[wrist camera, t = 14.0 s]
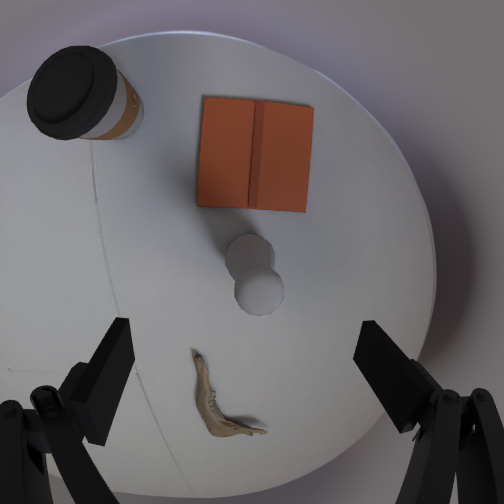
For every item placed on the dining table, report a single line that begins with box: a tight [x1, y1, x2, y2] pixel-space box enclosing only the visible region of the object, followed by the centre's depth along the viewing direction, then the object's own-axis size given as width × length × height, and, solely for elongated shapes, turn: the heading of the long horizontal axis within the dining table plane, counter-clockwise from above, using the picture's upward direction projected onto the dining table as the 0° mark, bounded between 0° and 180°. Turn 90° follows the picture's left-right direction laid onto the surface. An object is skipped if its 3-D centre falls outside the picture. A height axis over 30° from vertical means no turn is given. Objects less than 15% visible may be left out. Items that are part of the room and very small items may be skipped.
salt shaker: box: [225, 234, 284, 316], centre depth 30 cm, size 6×6×13 cm
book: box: [197, 97, 314, 213], centre depth 33 cm, size 13×13×1 cm
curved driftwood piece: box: [195, 355, 267, 437], centre depth 42 cm, size 9×20×2 cm, turn 30°
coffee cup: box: [27, 46, 144, 140], centre depth 23 cm, size 8×8×15 cm
